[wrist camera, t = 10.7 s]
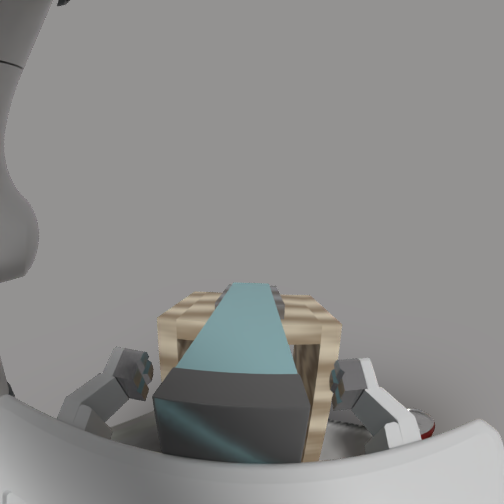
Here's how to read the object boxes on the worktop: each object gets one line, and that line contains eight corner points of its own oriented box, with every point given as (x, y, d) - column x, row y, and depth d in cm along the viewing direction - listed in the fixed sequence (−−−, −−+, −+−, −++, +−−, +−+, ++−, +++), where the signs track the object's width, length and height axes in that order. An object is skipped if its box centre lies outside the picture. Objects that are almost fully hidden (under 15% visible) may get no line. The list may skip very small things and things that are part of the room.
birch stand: (309, 492, 25) (343, 309, 25) (178, 486, 26) (156, 302, 25) (296, 428, 42) (310, 285, 42) (199, 425, 43) (194, 282, 42)
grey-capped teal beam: (297, 479, 6) (310, 406, 6) (166, 469, 6) (152, 395, 6) (268, 309, 31) (269, 283, 31) (232, 308, 31) (233, 282, 31)
